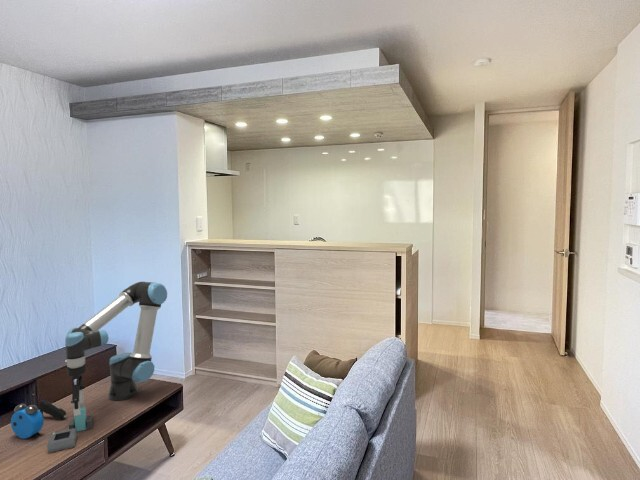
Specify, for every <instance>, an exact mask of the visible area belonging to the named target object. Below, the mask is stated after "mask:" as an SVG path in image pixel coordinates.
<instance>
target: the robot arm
mask: <svg viewBox="0 0 640 480" xmlns="http://www.w3.org/2000/svg"><path fill="white" fill-rule="evenodd" d="M167 298H168V291H167V288H166V287H165V285H163V284H162V283H159V282H151V281H150V282H149V281H139V282H135V283H133V284H131V285H129V286H128V287H127V288H125V289H123V290H122V291H120V293H119V295H118V297H116V298H115V299H114V300H112V301H111V302H110V303H108V304H107V305H106V306H105V307H103V308H102V309H101V310H99V311H98V312H97V313H96V314H94V315H93V316H91V317H90V318H89V319H87V320H86V321H85V322H84V323H82V324H80V326H79V327H73V328H70V329H69V330H68V332H66V336H65V342H64V345H65V355H66V357H65V358H66V360H65V361H64V362H65V363H66V366H67V368H66V371H67V376H68V377H72V379H71V382H72V383H71V385H72V386H71V388H72V389H71V394H72V395H71V396H72V398H71V401H70V404H72V410H73V417H74V416H76V415H80V414H81V413H80V405H81V404H83V403H84V401H85V400H84V389H85V386H84V384H83V383H84V382H83V376H82V375H83V374H85V373H86V372H87V371H86V355H85V352H86V351H88V350H91V349H95V348H99V347H102V346H104V345H106V344H107V343H108V342H109V334H108V332H107V331H106V330H105V329H102V328H103V327H104V326H106V325H107V324H109V323H110V321H113V320H114V319H115V318H116V317H117V316H118V315H119V314H121V313H122V312H123V311H124V310H126V309H127V308H129V307H132V306H134V305H135V304H137V303H138V306H139V308H140V313H139V318H138V324H137V328H136V334H135V340H134V345H133V350H132V352H123V353H119V354H115V355H113V356H111V357H110V358H109V364H108V365H109V373H110V386H109V389H108V393H107V395H108V399H109V400H110V401H115V402H116V401H124V400H127V399H130V398H132V397H134V396H137V395H138V392H139V388H138V385H137V383H145V382H147V381H149V380H150V379H151V378H152V376H153V375H154V372H155V364H154V362H153V361H152V358H153V356H152V354H151V348H152V342H153V336H154V330H155V324H156V321H157V315H158V310H160V309H161V307H162V304H164V303H165V302H166V300H167Z"/></svg>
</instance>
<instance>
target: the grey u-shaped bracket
mask: <svg viewBox="0 0 640 480" xmlns="http://www.w3.org/2000/svg"><path fill="white" fill-rule="evenodd" d="M93 419H94V418H93V415H87V416H86V420H87V421H86V423H87V427H86V430H87V431H89V430H92V429H93V425H94V424H93V423H94V420H93ZM67 426H68V429H73V428H75V420H74V418H73V419H72V418H71V419H70V420H69V422H68V425H67Z"/></svg>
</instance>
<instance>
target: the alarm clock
mask: <svg viewBox="0 0 640 480" xmlns="http://www.w3.org/2000/svg"><path fill="white" fill-rule="evenodd" d="M13 409H14V410H13V411H14V413H13V414H12V416H11V419H10V426H11V429H12V431H13V433H14V434H15V435H16V436H17V437H18V438H21V439H28V438H31V437H32V436H34V435H36V434H37V435H39V432H40V431H42V430H43V426H44V424H45V421H44V415H43V416H42V414H41V412H40V409H39V408H38V406H37V405H35V404H30V405H28V406H27V404H25V403H20V404H17V405H16V406H15V408H13Z"/></svg>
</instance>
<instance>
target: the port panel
mask: <svg viewBox="0 0 640 480" xmlns="http://www.w3.org/2000/svg"><path fill="white" fill-rule="evenodd" d="M77 438H78V431H77V428H73V429H69V428H68V429H64V430H60V431H55V432H51V433H50V435H49V438H48V441H47V445H46V446H47V453H48V454H49V453H54V452H59V451H63V450H67V449H72V447H73V448H75V447H76V446H75V445H76V443H77Z"/></svg>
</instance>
